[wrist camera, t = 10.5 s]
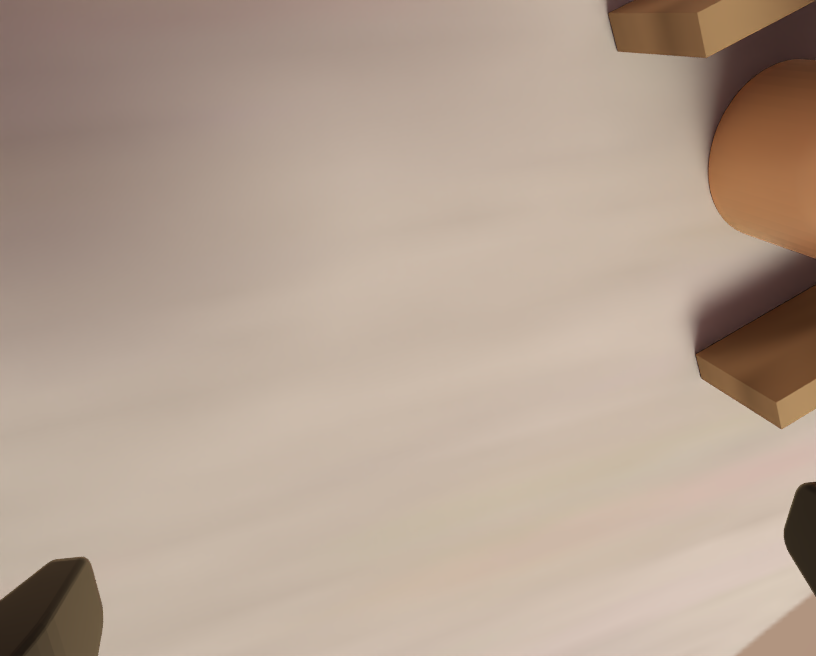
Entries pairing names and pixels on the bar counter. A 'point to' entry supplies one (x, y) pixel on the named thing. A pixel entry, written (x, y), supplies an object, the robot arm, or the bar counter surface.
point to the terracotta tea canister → (770, 158)
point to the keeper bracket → (800, 316)
